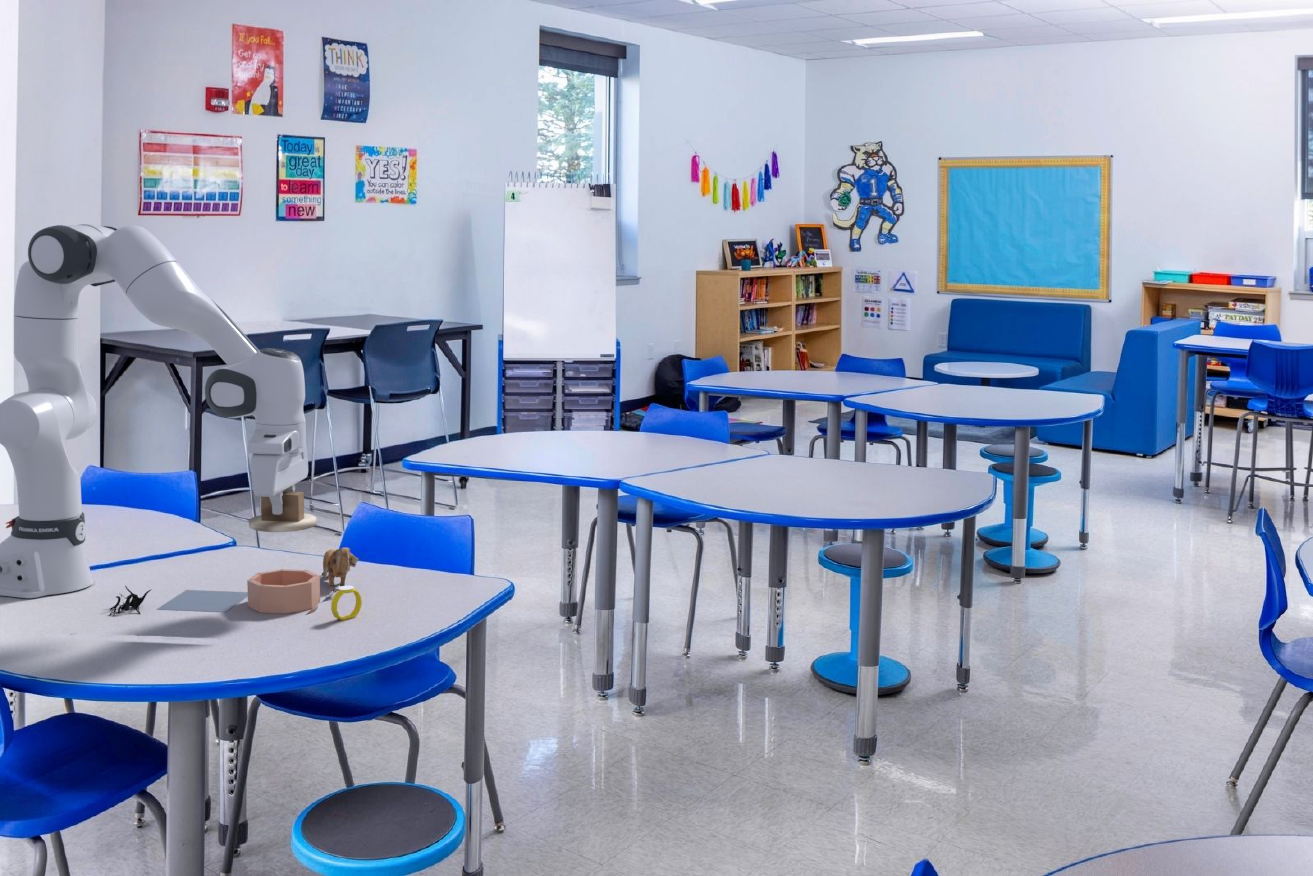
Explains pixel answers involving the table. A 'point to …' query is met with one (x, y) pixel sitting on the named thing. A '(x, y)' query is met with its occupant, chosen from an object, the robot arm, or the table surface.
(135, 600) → the creature
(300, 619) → the table surface
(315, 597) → the octagonal planter
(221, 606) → the mat
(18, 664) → the table surface
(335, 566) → the lion figurine
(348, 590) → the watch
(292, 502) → the lid
